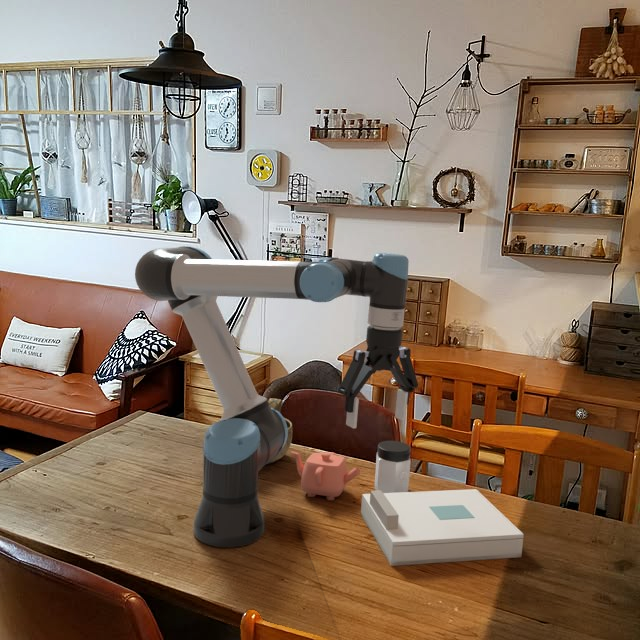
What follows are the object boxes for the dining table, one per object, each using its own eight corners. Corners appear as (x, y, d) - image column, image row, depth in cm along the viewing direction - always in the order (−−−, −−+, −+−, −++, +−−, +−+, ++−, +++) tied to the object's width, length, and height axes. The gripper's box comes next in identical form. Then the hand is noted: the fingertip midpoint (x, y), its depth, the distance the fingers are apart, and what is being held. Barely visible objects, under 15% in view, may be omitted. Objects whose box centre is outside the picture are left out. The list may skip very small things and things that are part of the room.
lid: (392, 545, 125) (393, 527, 125) (362, 497, 146) (363, 481, 146) (523, 537, 131) (525, 520, 130) (475, 492, 152) (477, 477, 152)
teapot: (340, 480, 166) (342, 442, 164) (360, 499, 155) (363, 459, 154) (288, 486, 160) (289, 447, 159) (306, 507, 150) (307, 465, 148)
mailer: (391, 565, 126) (392, 546, 125) (360, 514, 147) (362, 498, 146) (521, 557, 132) (523, 538, 131) (474, 509, 153) (475, 493, 152)
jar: (387, 501, 155) (390, 454, 153) (367, 488, 161) (370, 443, 159) (415, 494, 160) (418, 448, 158) (394, 482, 166) (397, 438, 164)
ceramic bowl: (249, 443, 189) (251, 393, 187) (303, 452, 184) (306, 401, 182) (213, 469, 168) (214, 414, 166) (273, 481, 163) (275, 424, 161)
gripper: (348, 332, 126) (339, 435, 130) (440, 328, 140) (430, 421, 144) (326, 325, 132) (319, 424, 136) (417, 321, 146) (408, 411, 150)
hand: (376, 422), depth 140 cm, fingers open, 13 cm apart
